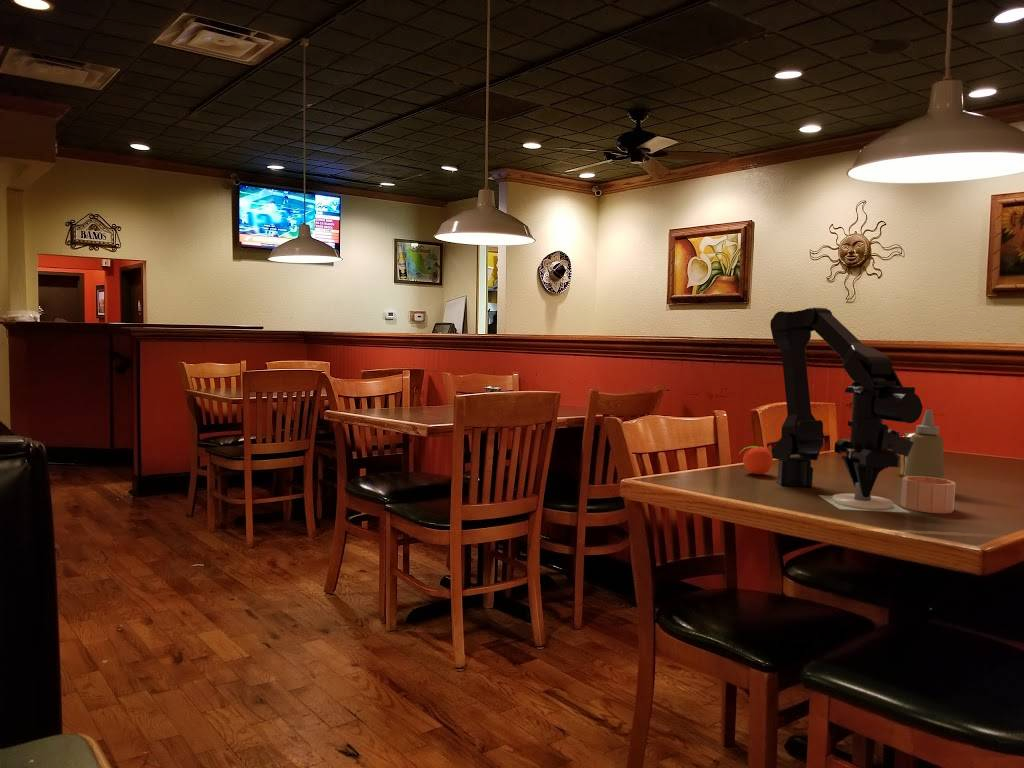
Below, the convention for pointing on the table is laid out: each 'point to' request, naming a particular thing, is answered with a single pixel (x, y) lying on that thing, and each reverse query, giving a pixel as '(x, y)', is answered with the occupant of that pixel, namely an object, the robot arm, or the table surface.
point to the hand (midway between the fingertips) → (862, 495)
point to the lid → (862, 500)
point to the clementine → (757, 460)
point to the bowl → (928, 494)
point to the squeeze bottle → (926, 450)
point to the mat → (843, 507)
